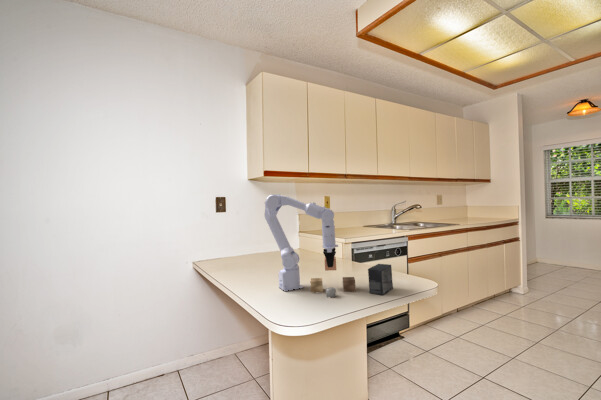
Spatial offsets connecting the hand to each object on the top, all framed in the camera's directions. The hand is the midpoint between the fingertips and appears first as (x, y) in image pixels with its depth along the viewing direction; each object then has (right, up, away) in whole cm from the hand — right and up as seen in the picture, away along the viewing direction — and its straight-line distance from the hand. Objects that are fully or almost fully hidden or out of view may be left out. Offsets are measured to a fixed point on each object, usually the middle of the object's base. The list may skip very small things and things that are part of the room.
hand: (330, 265), depth 133 cm
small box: (+21, -9, -9) cm, 24 cm away
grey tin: (-1, -10, -12) cm, 15 cm away
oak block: (-6, -10, -4) cm, 13 cm away
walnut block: (+8, -10, -5) cm, 13 cm away
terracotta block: (0, -2, 0) cm, 2 cm away
